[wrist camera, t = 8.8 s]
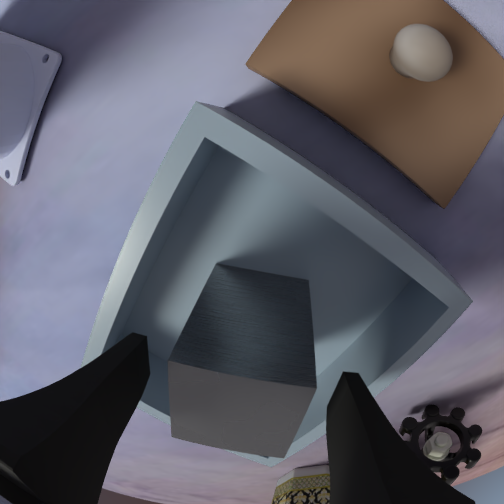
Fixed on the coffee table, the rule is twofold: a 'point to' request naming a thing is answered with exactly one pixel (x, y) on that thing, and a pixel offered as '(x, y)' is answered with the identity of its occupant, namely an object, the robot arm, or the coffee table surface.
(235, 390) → the grey rectangular block
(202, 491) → the coffee table surface
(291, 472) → the ceramic cup
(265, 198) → the bin
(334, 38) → the stud block
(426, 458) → the valve
